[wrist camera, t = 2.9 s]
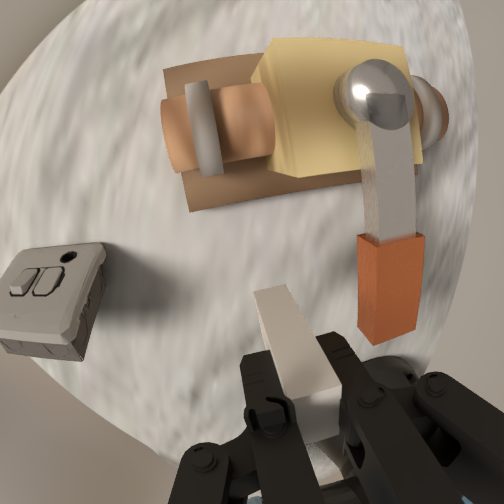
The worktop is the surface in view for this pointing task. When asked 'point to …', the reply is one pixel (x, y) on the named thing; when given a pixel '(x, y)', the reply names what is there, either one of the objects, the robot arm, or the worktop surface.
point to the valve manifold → (277, 120)
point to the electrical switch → (51, 301)
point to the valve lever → (384, 198)
